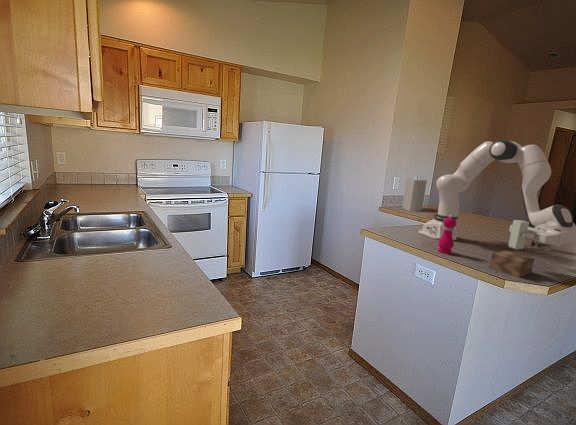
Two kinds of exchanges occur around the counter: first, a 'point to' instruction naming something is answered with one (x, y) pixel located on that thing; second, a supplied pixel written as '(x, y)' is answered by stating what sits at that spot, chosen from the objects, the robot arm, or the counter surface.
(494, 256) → the walnut riser block
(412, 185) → the paper bag
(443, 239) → the pepper mill
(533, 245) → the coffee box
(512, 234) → the sage block
